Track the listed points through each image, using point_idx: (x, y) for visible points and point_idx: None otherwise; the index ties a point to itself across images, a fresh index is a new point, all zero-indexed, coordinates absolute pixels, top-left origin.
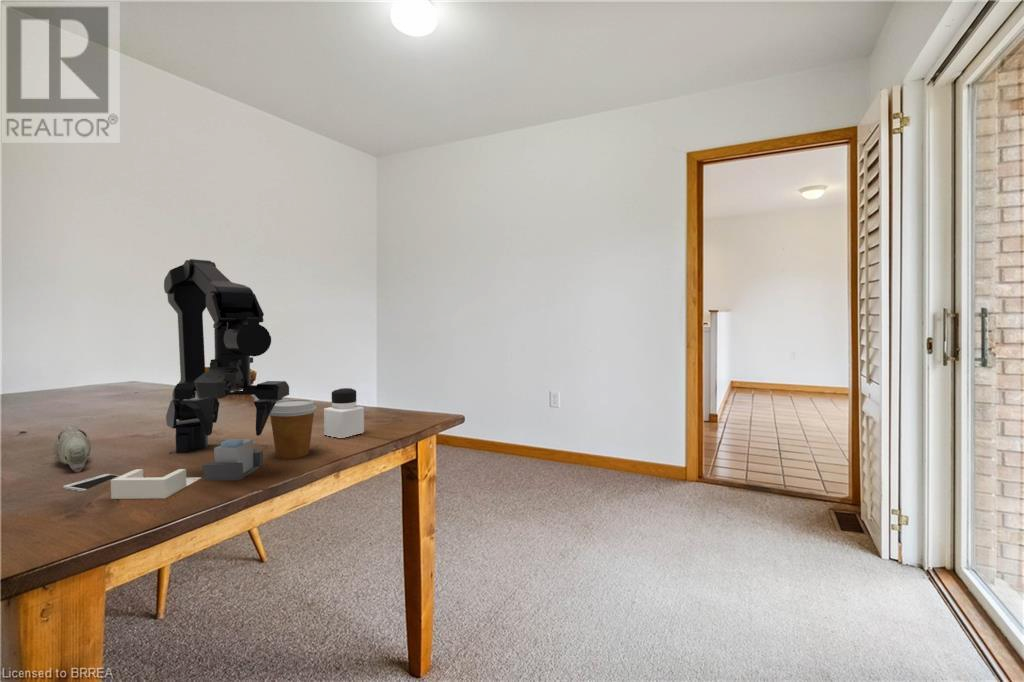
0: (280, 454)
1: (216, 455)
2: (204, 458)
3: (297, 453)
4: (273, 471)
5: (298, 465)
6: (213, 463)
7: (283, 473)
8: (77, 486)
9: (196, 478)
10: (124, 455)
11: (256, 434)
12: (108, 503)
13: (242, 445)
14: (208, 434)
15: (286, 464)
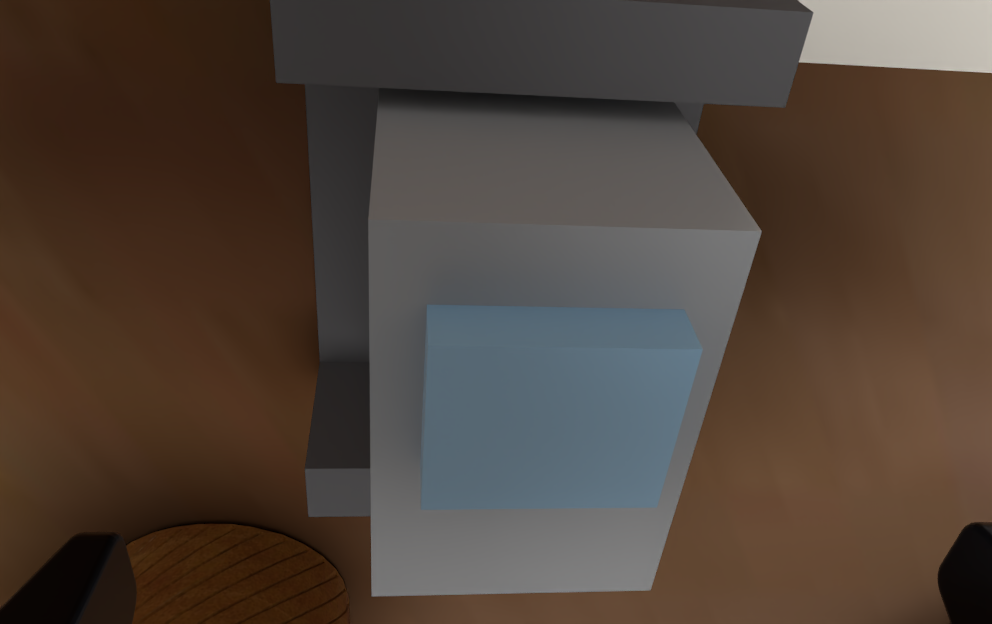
0: (260, 579)
1: (689, 164)
2: (895, 580)
3: None
4: (179, 313)
5: (42, 451)
6: (687, 71)
7: (30, 255)
8: None
9: (830, 27)
10: None
11: (106, 543)
12: None
13: (370, 371)
14: (978, 538)
15: (177, 474)
